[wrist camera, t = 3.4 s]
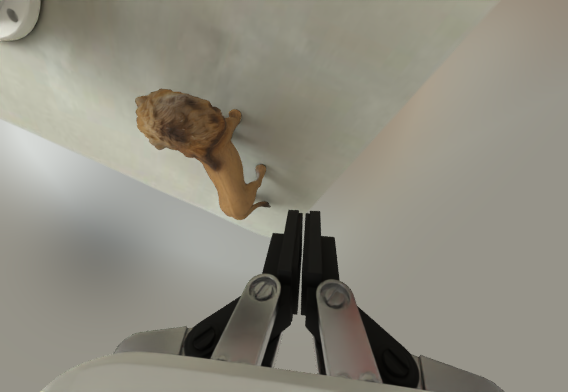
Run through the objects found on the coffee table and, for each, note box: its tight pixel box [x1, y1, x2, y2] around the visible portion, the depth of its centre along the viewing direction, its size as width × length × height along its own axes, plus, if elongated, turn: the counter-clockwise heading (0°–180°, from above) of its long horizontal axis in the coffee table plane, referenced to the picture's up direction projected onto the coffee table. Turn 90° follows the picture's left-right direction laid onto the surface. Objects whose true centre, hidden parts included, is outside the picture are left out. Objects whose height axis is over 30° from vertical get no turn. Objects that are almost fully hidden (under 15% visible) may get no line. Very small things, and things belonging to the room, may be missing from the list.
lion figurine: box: [135, 89, 271, 220], centre depth 19 cm, size 15×5×9 cm, turn 28°
